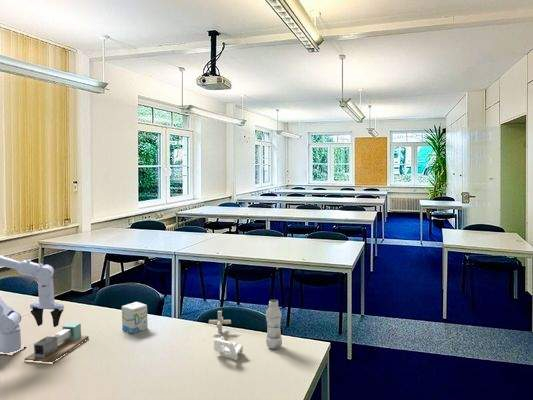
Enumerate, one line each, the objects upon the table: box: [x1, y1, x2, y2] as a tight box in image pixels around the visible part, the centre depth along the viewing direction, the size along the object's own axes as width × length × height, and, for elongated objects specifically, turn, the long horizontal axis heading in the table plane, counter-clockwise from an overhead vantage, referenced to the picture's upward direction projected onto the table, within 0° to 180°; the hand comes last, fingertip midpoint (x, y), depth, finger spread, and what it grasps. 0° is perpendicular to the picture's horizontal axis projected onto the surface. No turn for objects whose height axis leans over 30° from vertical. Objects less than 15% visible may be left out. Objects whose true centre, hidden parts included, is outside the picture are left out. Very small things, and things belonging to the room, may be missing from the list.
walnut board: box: [24, 335, 89, 362], centre depth 175 cm, size 12×24×2 cm, turn 170°
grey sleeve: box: [33, 335, 58, 359], centre depth 168 cm, size 5×8×6 cm, turn 170°
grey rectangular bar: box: [51, 328, 73, 345], centre depth 178 cm, size 3×13×3 cm, turn 170°
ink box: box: [121, 301, 149, 334], centre depth 196 cm, size 8×8×12 cm
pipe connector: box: [208, 310, 232, 334], centre depth 191 cm, size 10×10×10 cm
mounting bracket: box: [213, 335, 244, 361], centre depth 168 cm, size 12×6×11 cm, turn 58°
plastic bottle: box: [265, 299, 283, 350], centre depth 174 cm, size 6×7×20 cm
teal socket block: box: [62, 322, 82, 340], centre depth 184 cm, size 6×4×6 cm
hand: (47, 325), depth 177 cm, fingers open, 7 cm apart
